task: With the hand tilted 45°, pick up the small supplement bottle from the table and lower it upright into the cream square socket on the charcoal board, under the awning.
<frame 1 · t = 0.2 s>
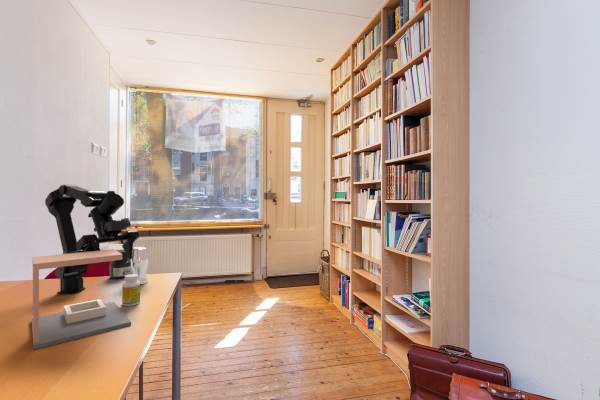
hand: (117, 261, 102), 15 cm above the table, tool tilted 35°, fingers open, 9 cm apart
awning socket: (84, 317, 92), on the table
ink bottle: (121, 277, 139), on the table
supplement bottle: (131, 304, 104), on the table
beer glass: (139, 283, 129), on the table
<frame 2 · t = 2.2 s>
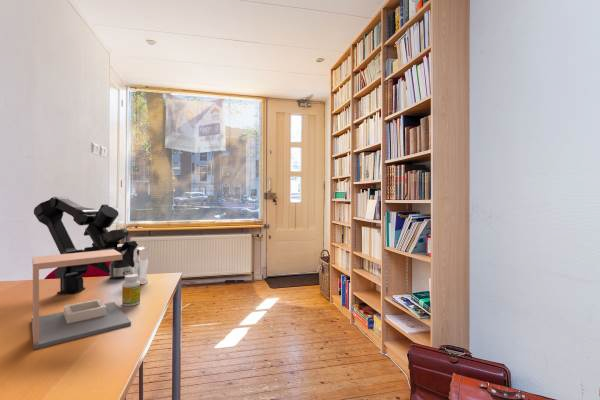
hand: (121, 269, 106), 11 cm above the table, tool tilted 45°, fingers open, 9 cm apart
nothing on the table moved.
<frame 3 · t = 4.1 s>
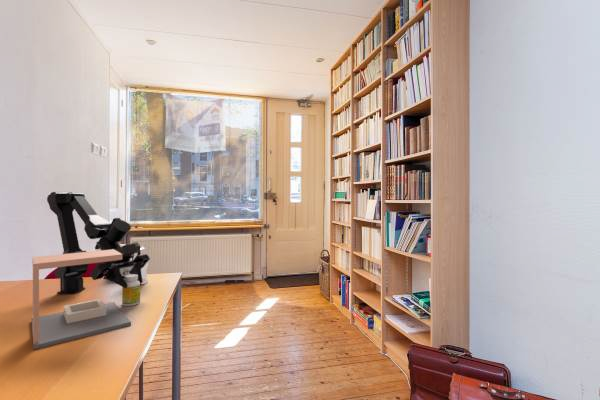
hand: (134, 285, 103), 7 cm above the table, tool tilted 45°, fingers closed on supplement bottle, 5 cm apart
supplement bottle: (131, 304, 104), on the table, touching gripper
everything else where it was.
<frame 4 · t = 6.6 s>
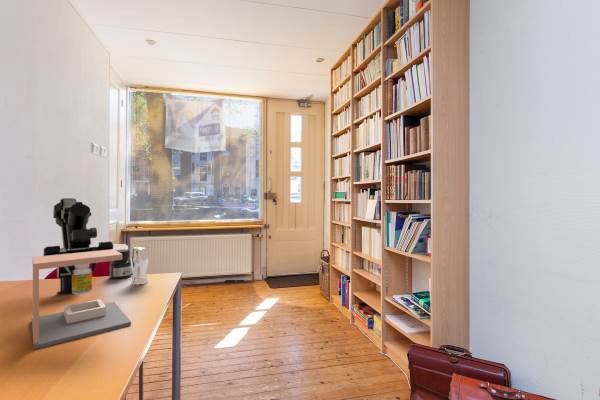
hand: (82, 272, 98), 12 cm above the table, tool tilted 45°, fingers closed on supplement bottle, 5 cm apart
supplement bottle: (82, 292, 99), point 5 cm above the table, touching gripper
everything else where it was.
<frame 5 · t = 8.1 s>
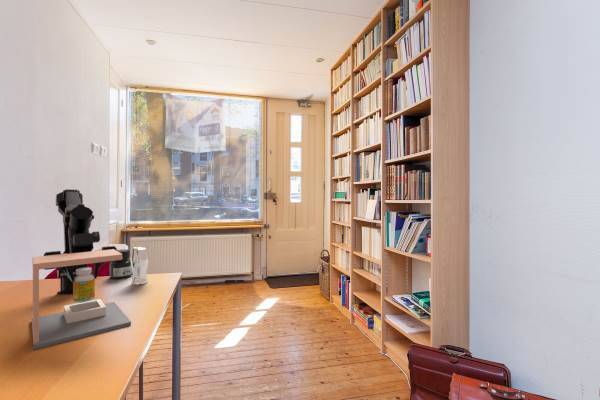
hand: (84, 279, 92), 12 cm above the table, tool tilted 45°, fingers closed on supplement bottle, 5 cm apart
supplement bottle: (84, 300, 93), point 5 cm above the table, touching gripper
everything else where it was.
when the fingers open (9 cm above the table, at t = 9.4 s): supplement bottle drops 1 cm, resting on awning socket.
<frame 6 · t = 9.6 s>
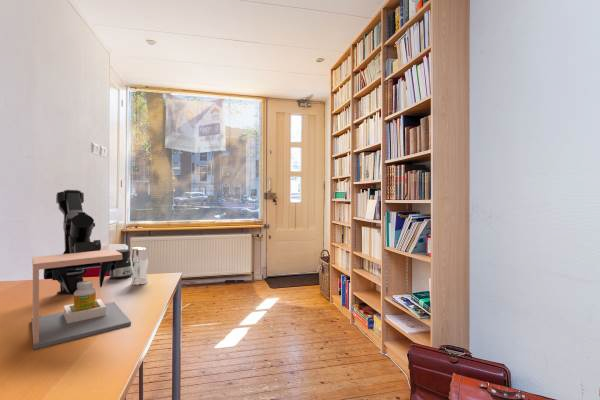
hand: (85, 289, 90), 9 cm above the table, tool tilted 45°, fingers open, 8 cm apart
supplement bottle: (84, 314, 92), point 1 cm above the table, touching awning socket
everything else where it was.
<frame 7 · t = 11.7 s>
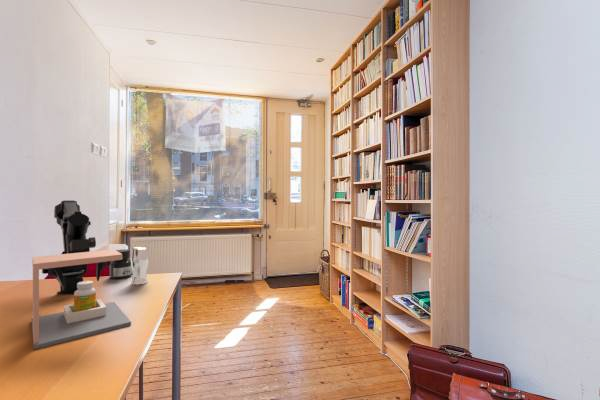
hand: (81, 283, 97), 9 cm above the table, tool tilted 45°, fingers open, 9 cm apart
nothing on the table moved.
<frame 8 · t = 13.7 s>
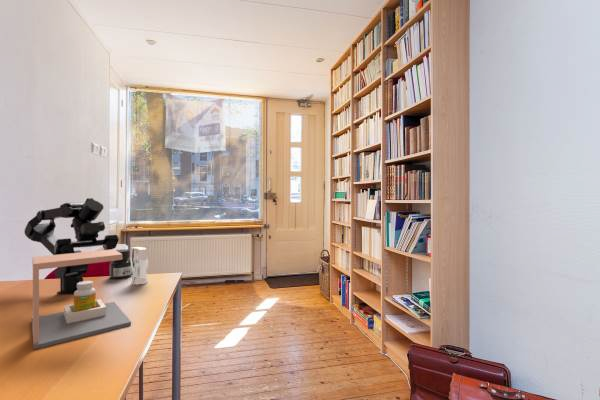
hand: (93, 262, 106), 14 cm above the table, tool tilted 45°, fingers open, 9 cm apart
nothing on the table moved.
at the end: supplement bottle 0.1 cm off-centre on the awning socket, point 0.8 cm above the awning socket's base; supplement bottle tilted 0°; the gripper is holding nothing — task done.
